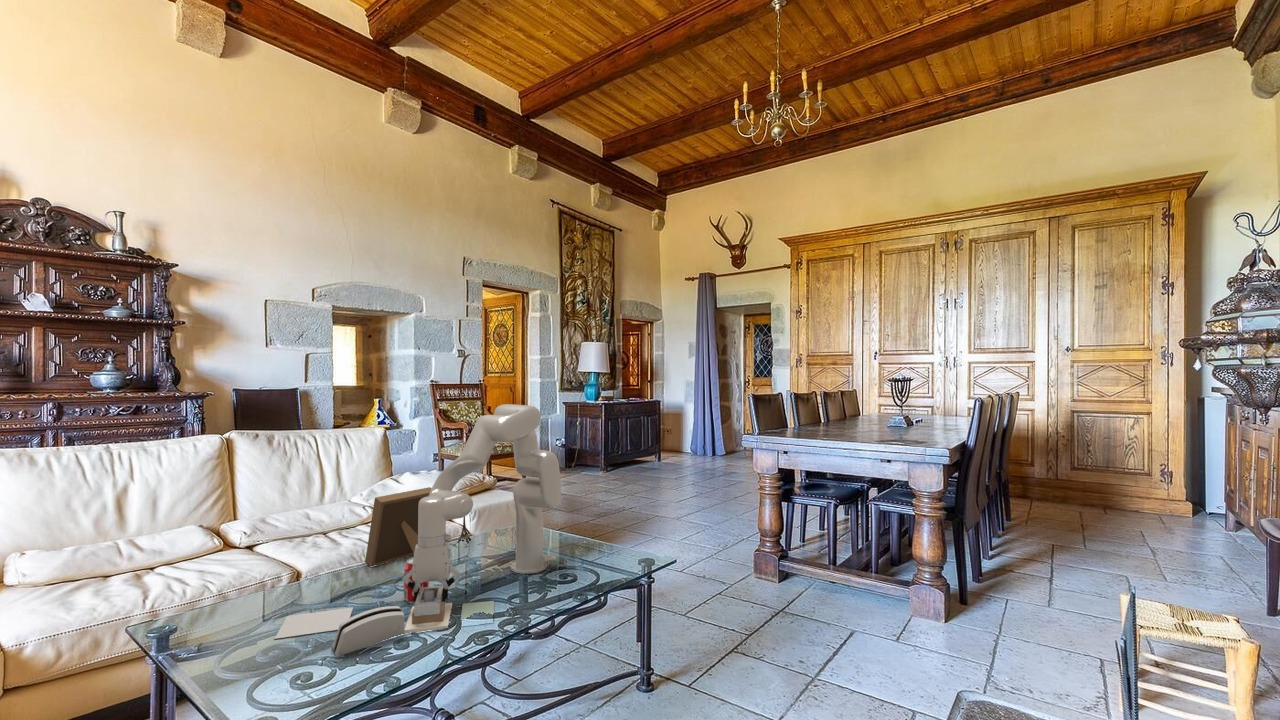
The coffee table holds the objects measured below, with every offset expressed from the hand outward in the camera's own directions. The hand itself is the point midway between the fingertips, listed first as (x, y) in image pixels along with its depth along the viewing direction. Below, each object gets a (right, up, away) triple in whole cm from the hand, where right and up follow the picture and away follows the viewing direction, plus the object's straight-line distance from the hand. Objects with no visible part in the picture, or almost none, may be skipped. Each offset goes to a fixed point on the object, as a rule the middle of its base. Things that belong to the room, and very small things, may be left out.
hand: (431, 602), depth 159 cm
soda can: (-8, -4, +10) cm, 13 cm away
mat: (+13, -3, 0) cm, 14 cm away
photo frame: (-26, -4, +43) cm, 51 cm away
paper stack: (-27, -4, 0) cm, 28 cm away
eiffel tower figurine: (-12, -5, +65) cm, 67 cm away
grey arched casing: (-9, -4, -17) cm, 20 cm away
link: (+1, +1, -4) cm, 4 cm away
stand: (+1, -3, -4) cm, 5 cm away
